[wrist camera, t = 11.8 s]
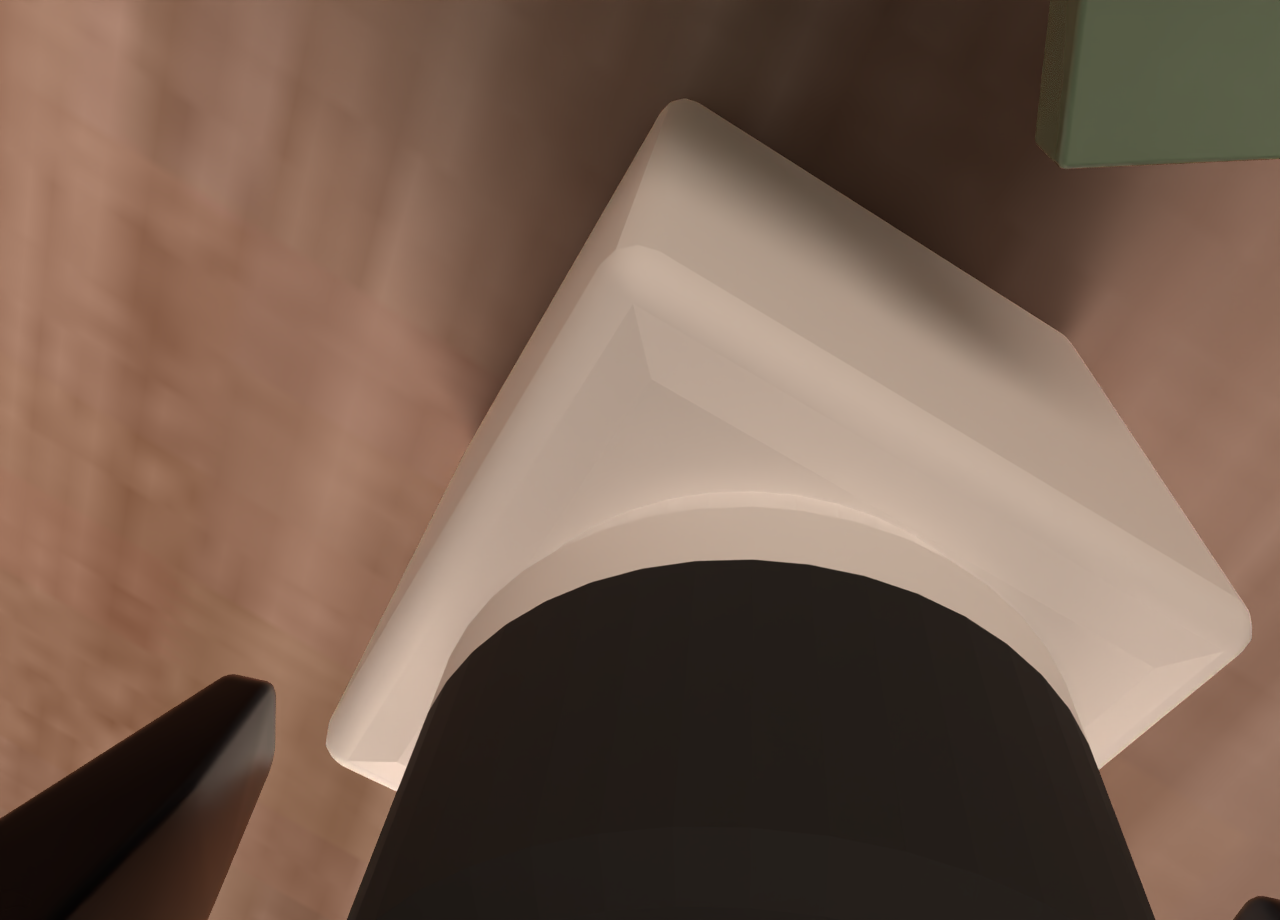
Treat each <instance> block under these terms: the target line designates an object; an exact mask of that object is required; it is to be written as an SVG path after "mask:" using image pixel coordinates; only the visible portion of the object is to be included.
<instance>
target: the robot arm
mask: <svg viewBox="0 0 1280 920" xmlns="http://www.w3.org/2000/svg"><path fill="white" fill-rule="evenodd" d="M275 710H276V695H275V690H274V687H273V685H272V684H271V683H269V682H267V681H263V680H259V679H254V678H249V677H245V676H240V675H235V674H232V675H227V676H224V677H222V678H220V679H218V680H217V681H215V682H214V683H212V684H211V685H209V686H207V687H206V688H204V689H203V690H201V691H200V692H198V693H196V694H195V695H193V696H192V697H190V698H189V699H187V700H185V701H184V702H182V703H181V704H179V705H178V706H176V707H174V708H173V709H171V710H170V711H168V712H167V713H165V714H163V715H162V716H160V717H159V718H157V719H156V720H154V721H153V722H151V723H149V724H148V725H146V726H145V727H143V728H142V729H140V730H138V731H137V732H135V733H134V734H132V735H131V736H129V737H127V738H126V739H124V740H123V741H121V742H120V743H118V744H116V745H115V746H113V747H112V748H110V749H109V750H107V751H105V752H104V753H102V754H101V755H99V756H98V757H96V758H94V759H93V760H91V761H90V762H88V763H87V764H85V765H84V766H82V767H80V768H79V769H77V770H76V771H74V772H73V773H71V774H69V775H68V776H66V777H65V778H63V779H62V780H60V781H58V782H57V783H55V784H54V785H52V786H51V787H49V788H47V789H46V790H44V791H43V792H41V793H40V794H38V795H36V796H35V797H33V798H32V799H30V800H29V801H27V802H25V803H24V804H22V805H21V806H19V807H18V808H16V809H15V810H13V811H11V812H10V813H8V814H7V815H5V816H4V817H2V818H0V920H208V917H209V915H210V913H211V910H212V908H213V906H214V904H215V901H216V899H217V896H218V894H219V891H220V889H221V887H222V884H223V882H224V879H225V877H226V875H227V872H228V870H229V867H230V865H231V863H232V860H233V858H234V855H235V853H236V850H237V848H238V846H239V843H240V841H241V838H242V836H243V834H244V831H245V829H246V826H247V824H248V822H249V819H250V817H251V814H252V812H253V809H254V807H255V805H256V802H257V800H258V797H259V795H260V793H261V790H262V788H263V785H264V783H265V781H266V778H267V776H268V773H269V770H270V767H271V764H272V761H273V756H274V751H275ZM1233 920H1280V900H1279V899H1274V898H1269V897H1265V896H1257V897H1255V898H1252V899H1250V900H1249V901H1248V902H1247V903H1246V904H1245V905H1244V906H1243V907H1242V909H1241V910H1240V911H1239V913H1238V914H1237V915H1236V917H1235V918H1234V919H1233Z"/></svg>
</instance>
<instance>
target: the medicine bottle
mask: <svg viewBox="0 0 1280 920" xmlns="http://www.w3.org/2000/svg"><path fill="white" fill-rule="evenodd" d="M1251 640H1252V623H1251V617H1250V612H1249V610H1248V608H1247V607H1246V605H1245V604H1244V602H1243V601H1242V599H1241V598H1240V596H1239V595H1238V593H1237V592H1236V590H1235V589H1234V587H1233V586H1232V584H1231V583H1230V581H1229V580H1228V578H1227V577H1226V575H1225V574H1224V572H1223V571H1222V569H1221V568H1220V566H1219V565H1218V563H1217V562H1216V560H1215V559H1214V557H1213V556H1212V554H1211V553H1210V551H1209V550H1208V548H1207V547H1206V545H1205V544H1204V542H1203V541H1202V539H1201V538H1200V536H1199V535H1198V533H1197V532H1196V530H1195V529H1194V527H1193V525H1192V524H1191V522H1190V521H1189V519H1188V518H1187V516H1186V515H1185V513H1184V512H1183V510H1182V509H1181V507H1180V506H1179V504H1178V503H1177V501H1176V500H1175V498H1174V497H1173V495H1172V494H1171V492H1170V491H1169V489H1168V488H1167V486H1166V485H1165V483H1164V482H1163V480H1162V479H1161V477H1160V476H1159V474H1158V473H1157V471H1156V470H1155V468H1154V467H1153V465H1152V464H1151V462H1150V461H1149V459H1148V458H1147V456H1146V455H1145V453H1144V452H1143V450H1142V449H1141V447H1140V446H1139V444H1138V443H1137V441H1136V440H1135V438H1134V436H1133V435H1132V433H1131V432H1130V430H1129V429H1128V427H1127V426H1126V424H1125V423H1124V421H1123V420H1122V418H1121V417H1120V415H1119V414H1118V412H1117V411H1116V409H1115V408H1114V406H1113V405H1112V403H1111V402H1110V400H1109V399H1108V397H1107V396H1106V394H1105V393H1104V391H1103V390H1102V388H1101V387H1100V385H1099V384H1098V382H1097V381H1096V379H1095V378H1094V376H1093V375H1092V373H1091V372H1090V370H1089V369H1088V367H1087V366H1086V364H1085V363H1084V361H1083V360H1082V358H1081V357H1080V355H1079V354H1078V352H1077V350H1076V349H1075V347H1074V346H1073V344H1072V343H1071V342H1070V341H1069V340H1068V339H1067V337H1066V336H1065V335H1063V334H1062V333H1060V332H1059V331H1057V330H1055V329H1054V328H1052V327H1051V326H1049V325H1048V324H1046V323H1044V322H1043V321H1041V320H1040V319H1038V318H1037V317H1035V316H1033V315H1032V314H1030V313H1029V312H1027V311H1026V310H1024V309H1022V308H1021V307H1019V306H1018V305H1016V304H1015V303H1013V302H1011V301H1010V300H1008V299H1007V298H1005V297H1004V296H1002V295H1000V294H999V293H997V292H996V291H994V290H993V289H991V288H989V287H988V286H986V285H985V284H983V283H982V282H980V281H978V280H977V279H975V278H974V277H972V276H971V275H969V274H967V273H966V272H964V271H963V270H961V269H959V268H958V267H956V266H955V265H953V264H952V263H950V262H948V261H947V260H945V259H944V258H942V257H941V256H939V255H937V254H936V253H934V252H933V251H931V250H930V249H928V248H926V247H925V246H923V245H922V244H920V243H919V242H917V241H915V240H914V239H912V238H911V237H909V236H908V235H906V234H904V233H903V232H901V231H900V230H898V229H897V228H895V227H893V226H892V225H890V224H889V223H887V222H886V221H884V220H882V219H881V218H879V217H878V216H876V215H875V214H873V213H871V212H870V211H868V210H867V209H865V208H864V207H862V206H860V205H859V204H857V203H856V202H854V201H852V200H851V199H849V198H848V197H846V196H845V195H843V194H841V193H840V192H838V191H837V190H835V189H834V188H832V187H830V186H829V185H827V184H826V183H824V182H823V181H821V180H819V179H818V178H816V177H815V176H813V175H812V174H810V173H808V172H807V171H805V170H804V169H802V168H801V167H799V166H797V165H796V164H794V163H793V162H791V161H790V160H788V159H786V158H785V157H783V156H782V155H780V154H779V153H777V152H775V151H774V150H772V149H771V148H769V147H768V146H766V145H764V144H763V143H761V142H760V141H758V140H757V139H755V138H753V137H752V136H750V135H749V134H747V133H745V132H744V131H742V130H741V129H739V128H738V127H736V126H734V125H733V124H731V123H730V122H728V121H727V120H725V119H723V118H722V117H720V116H719V115H717V114H716V113H714V112H712V111H711V110H709V109H708V108H706V107H705V106H703V105H701V104H700V103H698V102H695V101H692V100H689V99H685V98H684V99H680V100H676V101H672V102H670V103H669V104H668V105H667V106H666V107H665V108H664V109H663V110H662V111H661V112H660V114H659V116H658V118H657V119H656V121H655V123H654V124H653V126H652V128H651V130H650V131H649V133H648V135H647V137H646V138H645V140H644V142H643V144H642V145H641V147H640V149H639V150H638V152H637V154H636V156H635V157H634V159H633V161H632V163H631V164H630V166H629V168H628V170H627V171H626V173H625V175H624V176H623V178H622V180H621V182H620V183H619V185H618V187H617V189H616V190H615V192H614V194H613V196H612V197H611V199H610V201H609V202H608V204H607V206H606V208H605V209H604V211H603V213H602V215H601V216H600V218H599V220H598V222H597V223H596V225H595V227H594V228H593V230H592V232H591V234H590V235H589V237H588V239H587V241H586V242H585V244H584V246H583V248H582V249H581V251H580V253H579V254H578V256H577V258H576V260H575V261H574V263H573V265H572V267H571V268H570V270H569V272H568V274H567V275H566V277H565V279H564V280H563V282H562V284H561V286H560V287H559V289H558V291H557V293H556V294H555V296H554V298H553V300H552V301H551V303H550V305H549V306H548V308H547V310H546V312H545V313H544V315H543V317H542V319H541V320H540V322H539V324H538V326H537V327H536V329H535V331H534V332H533V334H532V336H531V338H530V339H529V341H528V343H527V345H526V346H525V348H524V350H523V352H522V353H521V355H520V357H519V358H518V360H517V362H516V364H515V365H514V367H513V369H512V371H511V372H510V374H509V376H508V378H507V379H506V381H505V383H504V384H503V386H502V388H501V390H500V391H499V393H498V395H497V397H496V398H495V400H494V402H493V404H492V405H491V407H490V409H489V410H488V412H487V414H486V416H485V417H484V419H483V421H482V423H481V424H480V426H479V428H478V430H477V431H476V433H475V435H474V436H473V438H472V440H471V442H470V443H469V445H468V447H467V449H466V450H465V452H464V454H463V456H462V458H461V460H460V462H459V464H458V466H457V468H456V470H455V472H454V474H453V476H452V478H451V480H450V482H449V484H448V486H447V488H446V490H445V492H444V494H443V496H442V498H441V500H440V502H439V504H438V506H437V508H436V510H435V512H434V514H433V516H432V518H431V520H430V522H429V524H428V526H427V528H426V530H425V532H424V534H423V536H422V538H421V540H420V542H419V544H418V546H417V548H416V550H415V552H414V554H413V556H412V558H411V560H410V562H409V564H408V566H407V568H406V570H405V572H404V574H403V576H402V578H401V580H400V582H399V584H398V586H397V588H396V590H395V592H394V594H393V596H392V598H391V600H390V602H389V604H388V606H387V608H386V610H385V612H384V614H383V616H382V618H381V620H380V622H379V624H378V625H377V627H376V629H375V631H374V633H373V635H372V637H371V639H370V641H369V643H368V645H367V647H366V649H365V651H364V653H363V655H362V657H361V659H360V661H359V663H358V665H357V667H356V669H355V671H354V673H353V675H352V677H351V679H350V681H349V683H348V685H347V687H346V689H345V691H344V693H343V695H342V697H341V699H340V701H339V703H338V705H337V707H336V709H335V711H334V713H333V715H332V717H331V719H330V721H329V726H328V732H327V740H326V747H327V749H328V751H329V752H330V754H331V756H332V757H333V758H334V759H335V760H336V762H338V763H339V764H341V765H342V766H343V767H346V768H348V769H350V770H352V771H354V772H356V773H358V774H361V775H363V776H365V777H367V778H369V779H371V780H373V781H375V782H378V783H380V784H382V785H384V786H386V787H388V788H390V789H393V790H395V791H397V793H396V795H395V798H394V801H393V803H392V806H391V808H390V811H389V813H388V816H387V818H386V821H385V824H384V826H383V829H382V831H381V834H380V836H379V839H378V841H377V844H376V847H375V849H374V852H373V854H372V857H371V859H370V862H369V864H368V867H367V870H366V872H365V875H364V877H363V880H362V882H361V885H360V887H359V890H358V893H357V895H356V898H355V900H354V903H353V905H352V908H351V910H350V913H349V916H348V918H347V920H1155V918H1154V915H1153V912H1152V910H1151V907H1150V904H1149V902H1148V899H1147V897H1146V894H1145V891H1144V889H1143V886H1142V883H1141V881H1140V878H1139V875H1138V873H1137V870H1136V868H1135V865H1134V862H1133V860H1132V857H1131V854H1130V852H1129V849H1128V846H1127V844H1126V841H1125V838H1124V836H1123V833H1122V831H1121V828H1120V825H1119V823H1118V820H1117V817H1116V815H1115V812H1114V809H1113V807H1112V804H1111V801H1110V799H1109V796H1108V794H1107V791H1106V788H1105V786H1104V783H1103V780H1102V778H1101V775H1100V772H1099V769H1100V768H1102V767H1103V766H1104V765H1105V764H1107V763H1108V762H1109V761H1110V760H1111V759H1113V758H1114V757H1115V756H1116V755H1118V754H1119V753H1120V752H1121V751H1122V750H1124V749H1125V748H1126V747H1127V746H1129V745H1130V744H1131V743H1132V742H1133V741H1135V740H1136V739H1137V738H1138V737H1139V736H1141V735H1142V734H1143V733H1144V732H1146V731H1147V730H1148V729H1149V728H1150V727H1152V726H1153V725H1154V724H1155V723H1157V722H1158V721H1159V720H1160V719H1161V718H1163V717H1164V716H1165V715H1166V714H1167V713H1169V712H1170V711H1171V710H1172V709H1174V708H1175V707H1176V706H1177V705H1178V704H1180V703H1181V702H1182V701H1183V700H1185V699H1186V698H1187V697H1188V696H1189V695H1191V694H1192V693H1193V692H1194V691H1195V690H1197V689H1198V688H1199V687H1200V686H1202V685H1203V684H1204V683H1205V682H1206V681H1208V680H1209V679H1210V678H1211V677H1213V676H1214V675H1215V674H1216V673H1217V672H1219V671H1220V670H1221V669H1222V668H1223V667H1225V666H1226V665H1227V664H1228V663H1230V662H1231V661H1232V660H1233V659H1234V658H1236V657H1237V656H1238V655H1239V654H1241V653H1242V652H1243V650H1244V649H1245V648H1246V646H1247V645H1248V644H1249V642H1250V641H1251Z"/></svg>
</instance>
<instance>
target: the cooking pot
mask: <svg viewBox="0 0 1280 920" xmlns="http://www.w3.org/2000/svg"><path fill="white" fill-rule="evenodd" d="M1035 141H1036V144H1037V145H1038V146H1039V147H1040V148H1041V149H1042V150H1043V151H1044V152H1045V153H1046V154H1047V155H1048V156H1049V157H1050V158H1051V159H1052V160H1053V161H1054V162H1055V163H1056V164H1057V165H1058V166H1059V167H1060V168H1063V169H1080V168H1101V167H1122V166H1143V165H1164V164H1185V163H1206V162H1228V161H1249V160H1270V159H1280V0H1050V7H1049V16H1048V25H1047V34H1046V43H1045V52H1044V61H1043V70H1042V79H1041V88H1040V98H1039V107H1038V116H1037V125H1036V134H1035Z"/></svg>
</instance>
